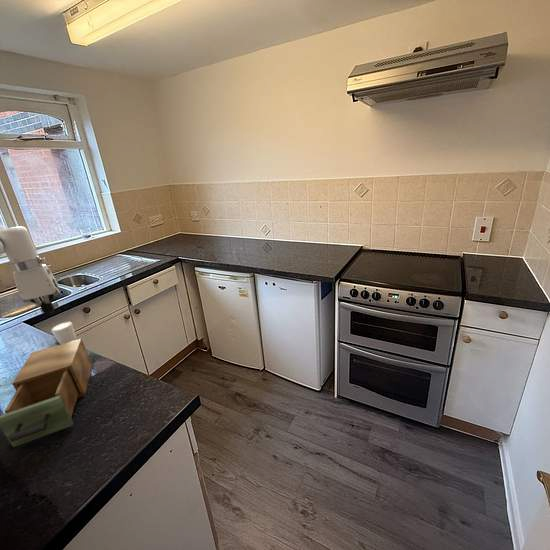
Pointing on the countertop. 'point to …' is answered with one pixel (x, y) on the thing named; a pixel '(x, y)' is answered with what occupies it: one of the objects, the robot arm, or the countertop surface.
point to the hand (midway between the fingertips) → (50, 313)
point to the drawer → (40, 408)
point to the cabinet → (58, 364)
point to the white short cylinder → (64, 332)
